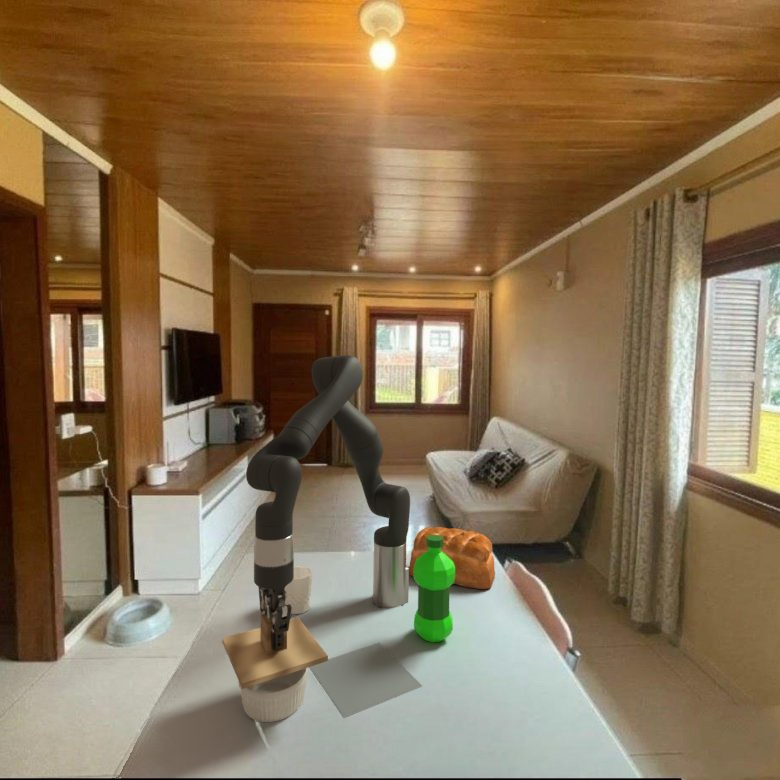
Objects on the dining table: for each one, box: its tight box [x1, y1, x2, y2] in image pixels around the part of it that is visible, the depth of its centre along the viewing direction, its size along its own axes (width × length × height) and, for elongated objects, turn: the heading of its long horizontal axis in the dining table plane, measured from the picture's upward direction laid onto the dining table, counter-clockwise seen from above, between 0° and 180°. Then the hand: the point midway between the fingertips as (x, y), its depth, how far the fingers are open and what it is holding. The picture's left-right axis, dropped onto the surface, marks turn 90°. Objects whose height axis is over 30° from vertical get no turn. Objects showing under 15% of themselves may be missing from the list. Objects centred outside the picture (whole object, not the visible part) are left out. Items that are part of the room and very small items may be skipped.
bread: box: [408, 526, 496, 590], centre depth 152 cm, size 14×26×16 cm, turn 71°
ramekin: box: [238, 667, 309, 723], centre depth 94 cm, size 13×13×7 cm
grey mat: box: [308, 642, 423, 719], centre depth 102 cm, size 18×18×1 cm
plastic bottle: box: [413, 535, 455, 643], centre depth 117 cm, size 10×10×25 cm
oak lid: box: [221, 612, 329, 689], centre depth 93 cm, size 16×16×7 cm
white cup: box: [285, 566, 313, 615], centre depth 131 cm, size 8×8×10 cm
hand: (273, 642), depth 93 cm, fingers closed on oak lid, 4 cm apart
